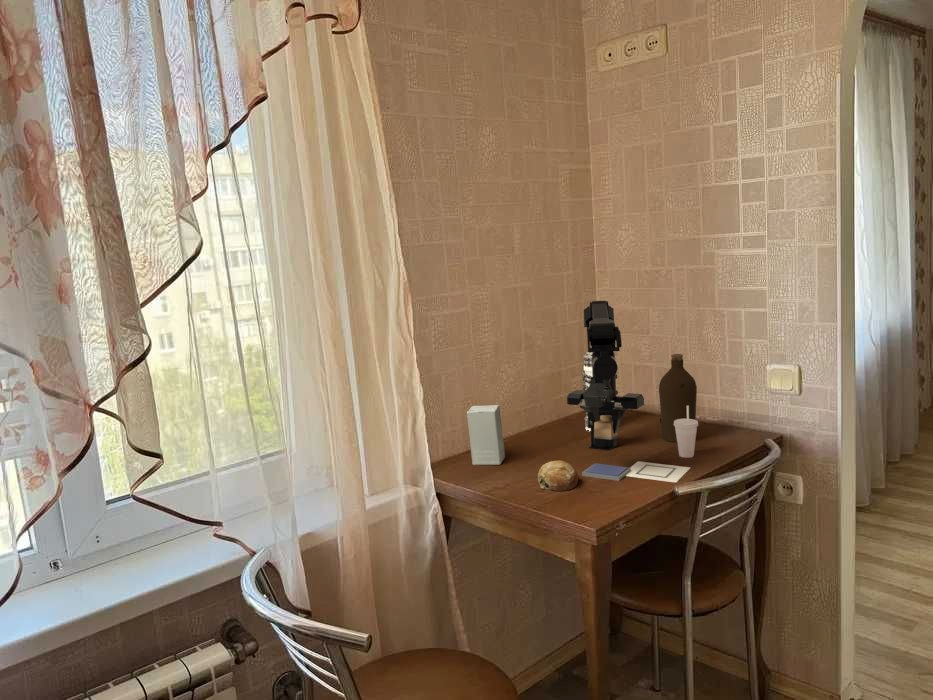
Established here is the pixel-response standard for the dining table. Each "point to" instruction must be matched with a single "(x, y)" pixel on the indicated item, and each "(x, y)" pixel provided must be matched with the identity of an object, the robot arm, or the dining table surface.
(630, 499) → the dining table surface
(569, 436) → the dining table surface
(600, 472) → the ink pad
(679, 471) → the sheet
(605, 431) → the stamp
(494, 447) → the skincare box
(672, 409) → the olive oil
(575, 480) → the bread roll
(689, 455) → the smoothie
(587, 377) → the decorative candle
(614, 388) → the robot arm
